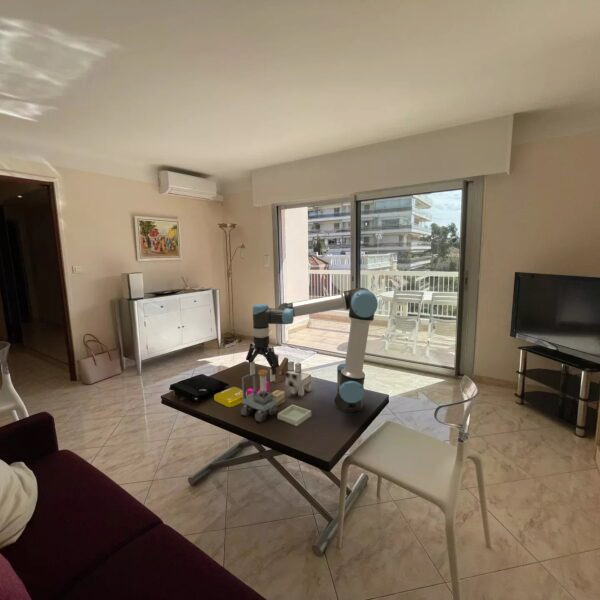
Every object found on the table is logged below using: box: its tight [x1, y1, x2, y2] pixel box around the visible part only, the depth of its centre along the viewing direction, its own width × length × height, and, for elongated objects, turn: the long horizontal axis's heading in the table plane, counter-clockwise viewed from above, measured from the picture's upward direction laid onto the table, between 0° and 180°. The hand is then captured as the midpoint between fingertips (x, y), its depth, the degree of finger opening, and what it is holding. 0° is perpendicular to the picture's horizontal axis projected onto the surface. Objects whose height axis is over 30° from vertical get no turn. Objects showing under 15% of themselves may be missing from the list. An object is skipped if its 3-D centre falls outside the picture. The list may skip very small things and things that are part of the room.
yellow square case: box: [213, 386, 247, 408], centre depth 179 cm, size 15×15×5 cm
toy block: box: [246, 380, 270, 395], centre depth 181 cm, size 15×6×8 cm, turn 147°
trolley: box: [240, 371, 278, 423], centre depth 161 cm, size 15×14×20 cm
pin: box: [257, 368, 268, 397], centre depth 158 cm, size 5×5×15 cm
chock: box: [271, 389, 286, 407], centre depth 175 cm, size 5×7×6 cm
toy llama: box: [285, 361, 312, 398], centre depth 186 cm, size 8×18×20 cm, turn 146°
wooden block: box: [272, 353, 289, 384], centre depth 204 cm, size 4×11×18 cm, turn 130°
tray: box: [276, 404, 312, 427], centre depth 159 cm, size 12×12×3 cm
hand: (262, 377), depth 158 cm, fingers open, 13 cm apart
